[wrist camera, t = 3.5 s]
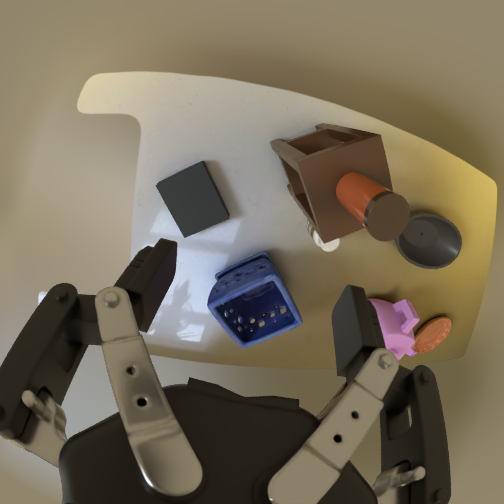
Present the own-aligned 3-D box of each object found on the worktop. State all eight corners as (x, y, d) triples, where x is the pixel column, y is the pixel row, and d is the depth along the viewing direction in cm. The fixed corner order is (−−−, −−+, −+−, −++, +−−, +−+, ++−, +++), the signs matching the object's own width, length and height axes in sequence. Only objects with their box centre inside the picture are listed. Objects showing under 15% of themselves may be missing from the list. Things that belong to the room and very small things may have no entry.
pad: (158, 182, 45) (155, 185, 44) (203, 160, 44) (202, 162, 42) (186, 233, 51) (184, 238, 49) (229, 214, 49) (229, 218, 48)
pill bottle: (311, 211, 50) (323, 228, 43) (331, 217, 51) (346, 234, 44) (303, 232, 52) (314, 251, 45) (323, 237, 53) (336, 256, 46)
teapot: (331, 305, 62) (352, 352, 49) (398, 276, 60) (429, 316, 47) (342, 350, 71) (359, 392, 58) (399, 325, 69) (421, 363, 56)
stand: (269, 141, 44) (297, 162, 26) (323, 123, 42) (380, 134, 25) (289, 193, 48) (324, 244, 31) (339, 174, 47) (396, 214, 30)
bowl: (434, 261, 59) (447, 274, 53) (372, 242, 55) (385, 257, 49) (454, 220, 53) (469, 231, 48) (395, 191, 49) (411, 201, 44)
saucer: (416, 354, 78) (420, 360, 76) (403, 337, 72) (407, 343, 69) (450, 325, 74) (454, 331, 71) (442, 304, 67) (447, 310, 65)
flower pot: (293, 287, 58) (306, 325, 48) (239, 311, 61) (242, 351, 50) (267, 238, 52) (276, 272, 42) (207, 268, 54) (203, 306, 44)
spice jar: (330, 178, 27) (363, 203, 20) (365, 165, 26) (406, 186, 20) (340, 214, 29) (371, 248, 22) (373, 201, 29) (411, 231, 22)
